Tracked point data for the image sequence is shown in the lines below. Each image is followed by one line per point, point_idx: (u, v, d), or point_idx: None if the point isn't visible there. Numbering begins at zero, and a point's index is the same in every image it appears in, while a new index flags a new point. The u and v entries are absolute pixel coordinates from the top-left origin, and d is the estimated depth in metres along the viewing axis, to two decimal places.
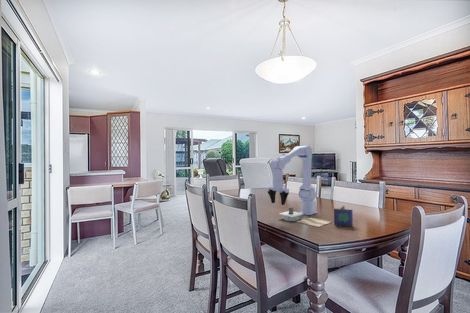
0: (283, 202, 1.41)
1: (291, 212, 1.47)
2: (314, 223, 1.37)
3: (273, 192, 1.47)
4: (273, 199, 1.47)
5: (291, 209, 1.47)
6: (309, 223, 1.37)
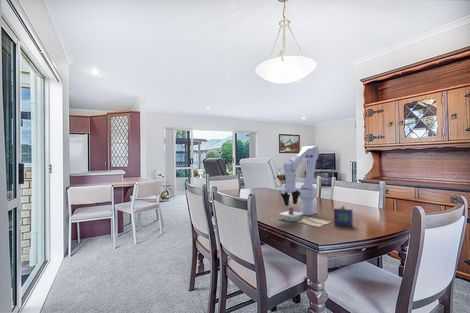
0: (285, 203, 1.46)
1: (291, 212, 1.47)
2: (314, 223, 1.37)
3: (294, 193, 1.51)
4: (294, 200, 1.51)
5: (291, 209, 1.47)
6: (309, 223, 1.37)
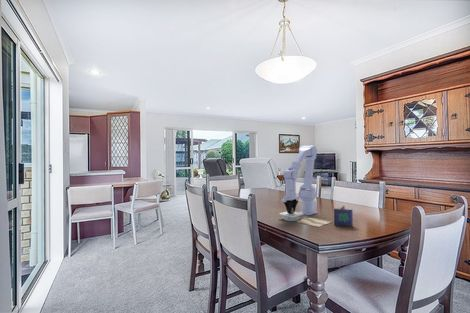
0: (288, 210, 1.47)
1: (291, 212, 1.47)
2: (314, 223, 1.37)
3: (292, 202, 1.49)
4: None
5: (291, 209, 1.47)
6: (309, 223, 1.37)
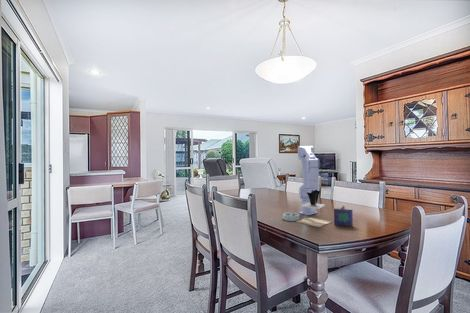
0: (311, 202, 1.39)
1: None
2: (314, 223, 1.37)
3: None
4: None
5: None
6: (309, 223, 1.37)
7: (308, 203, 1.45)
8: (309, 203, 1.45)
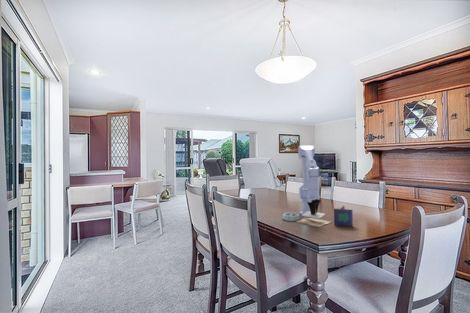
0: (311, 211, 1.39)
1: None
2: (314, 223, 1.37)
3: (315, 201, 1.42)
4: None
5: None
6: (309, 223, 1.37)
7: (308, 212, 1.45)
8: (309, 212, 1.45)
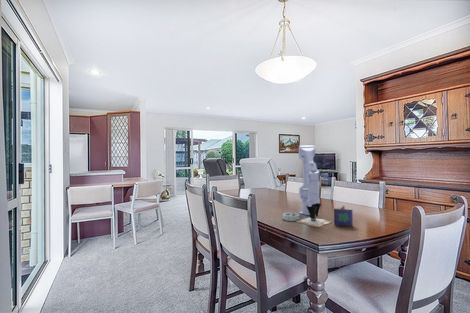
0: (311, 215, 1.39)
1: (314, 219, 1.40)
2: None
3: (315, 205, 1.43)
4: (315, 212, 1.43)
5: None
6: (309, 223, 1.37)
7: (308, 218, 1.45)
8: (309, 218, 1.45)
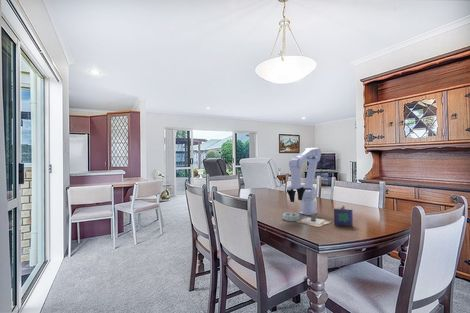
0: (291, 199, 1.48)
1: (314, 219, 1.40)
2: None
3: (300, 190, 1.52)
4: (299, 197, 1.53)
5: (314, 216, 1.40)
6: (309, 223, 1.37)
7: (308, 218, 1.45)
8: (309, 218, 1.45)
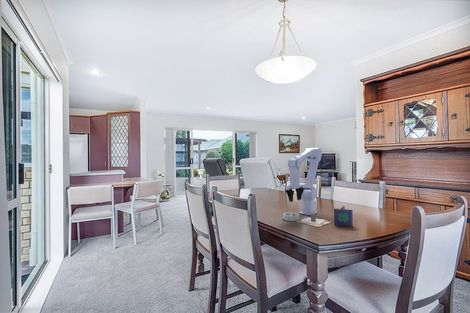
0: (289, 199, 1.48)
1: (314, 219, 1.40)
2: None
3: (298, 190, 1.53)
4: (298, 196, 1.53)
5: (314, 216, 1.40)
6: (309, 223, 1.37)
7: (308, 218, 1.45)
8: (309, 218, 1.45)
